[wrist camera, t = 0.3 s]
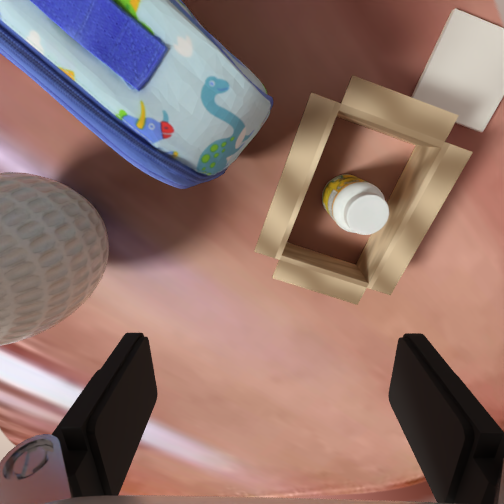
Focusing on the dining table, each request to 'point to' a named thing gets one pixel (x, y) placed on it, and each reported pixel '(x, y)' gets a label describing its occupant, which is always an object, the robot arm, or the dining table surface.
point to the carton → (400, 202)
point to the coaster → (465, 70)
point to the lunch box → (140, 81)
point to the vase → (45, 254)
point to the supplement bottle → (355, 204)
